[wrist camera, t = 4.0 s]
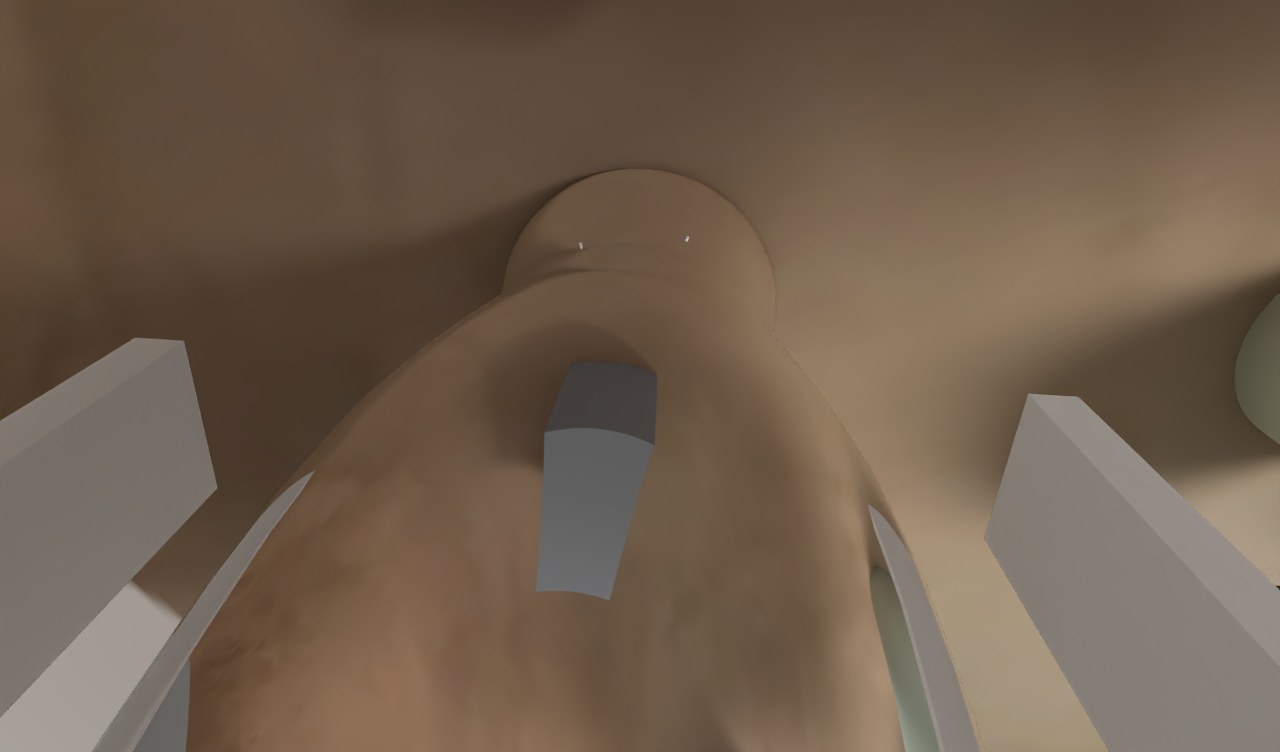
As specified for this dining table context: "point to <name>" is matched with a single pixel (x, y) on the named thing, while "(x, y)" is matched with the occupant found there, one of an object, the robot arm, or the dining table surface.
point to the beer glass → (576, 533)
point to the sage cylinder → (1261, 371)
